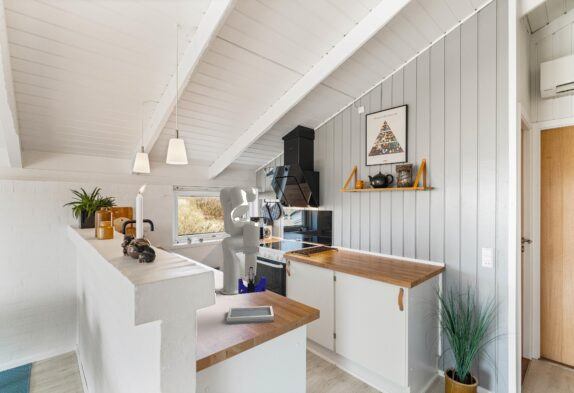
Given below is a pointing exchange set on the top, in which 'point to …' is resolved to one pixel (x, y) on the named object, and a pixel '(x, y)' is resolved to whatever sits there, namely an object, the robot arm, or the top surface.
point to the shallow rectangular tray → (250, 315)
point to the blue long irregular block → (258, 287)
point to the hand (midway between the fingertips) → (250, 289)
